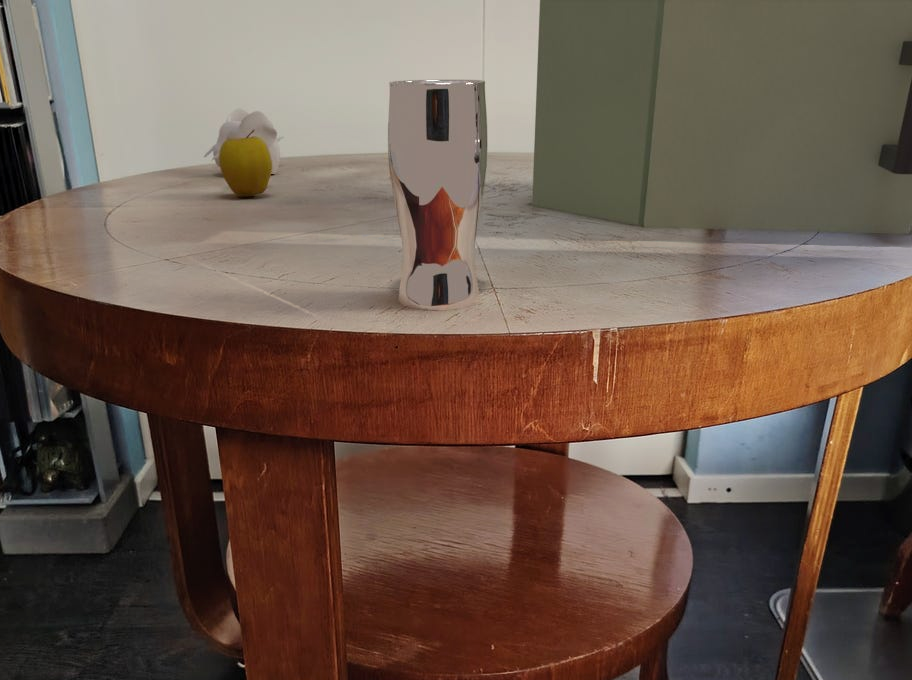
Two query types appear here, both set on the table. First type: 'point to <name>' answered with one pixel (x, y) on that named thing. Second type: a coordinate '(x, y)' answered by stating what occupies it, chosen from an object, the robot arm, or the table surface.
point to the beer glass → (438, 187)
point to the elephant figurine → (242, 126)
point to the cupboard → (596, 106)
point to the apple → (246, 165)
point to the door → (783, 116)
